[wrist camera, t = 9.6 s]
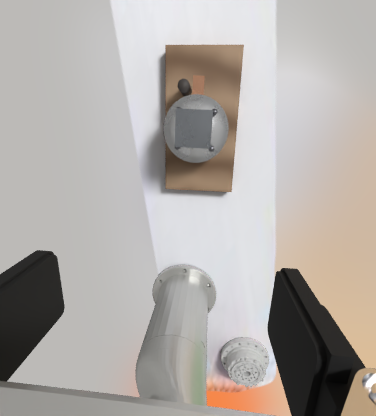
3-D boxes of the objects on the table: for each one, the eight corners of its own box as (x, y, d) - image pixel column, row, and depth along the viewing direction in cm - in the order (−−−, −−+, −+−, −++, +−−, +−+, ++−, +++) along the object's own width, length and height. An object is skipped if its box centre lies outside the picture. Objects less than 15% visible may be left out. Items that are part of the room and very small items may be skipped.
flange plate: (224, 163, 35) (227, 169, 29) (164, 159, 36) (155, 164, 30) (232, 79, 32) (237, 66, 26) (166, 76, 33) (157, 63, 27)
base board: (230, 189, 41) (233, 198, 35) (167, 186, 42) (160, 194, 36) (241, 49, 35) (247, 32, 29) (168, 49, 36) (159, 33, 30)
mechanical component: (227, 375, 54) (272, 368, 52) (229, 395, 49) (277, 388, 48) (215, 340, 51) (261, 332, 49) (215, 359, 47) (266, 350, 45)
